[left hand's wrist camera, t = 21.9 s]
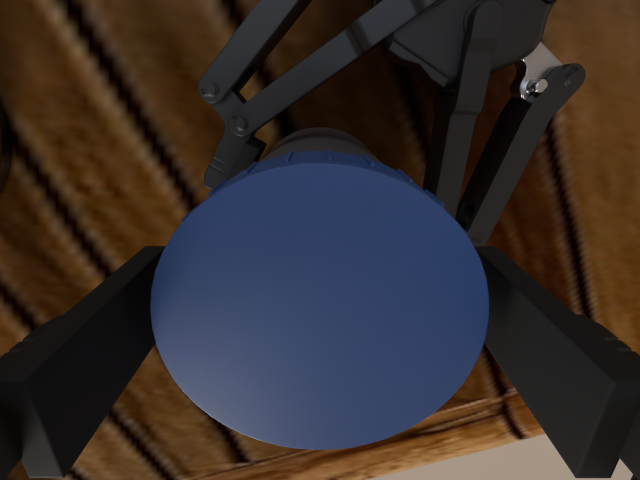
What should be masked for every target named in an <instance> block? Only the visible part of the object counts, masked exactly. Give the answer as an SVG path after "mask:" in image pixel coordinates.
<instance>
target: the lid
mask: <svg viewBox="0 0 640 480" xmlns="http://www.w3.org/2000/svg"><path fill="white" fill-rule="evenodd" d="M208 194H209V195H210V197H208V198H207V199H206V200H205V201H204V202H203V203H200V204H199V205H198V206H196V207H195V208H194V209H193V210H192V211H191V212H190V213H188V214H187V215H186V216H185V217H184V218H183V219H182V220H181V221H182V224H181V225H180V226H179V227H178V228H177V230H176V231H175V232H174V234H173V235H172V237H171V239H170V240H169V242H168V244H167V245H166V247H165V249H164V250H163V253H162V255H161V258H160V260H159V263H158V265H157V268H156V271H155V275H154V280H153V284H152V289H151V304H150V311H151V322H152V329H153V333H154V337H155V341H156V345H157V348H158V350H159V352H160V355H161V357H162V360H163V362H164V364H165V365H166V367H167V369H168V371H169V372H170V374H171V376H172V377H173V379H174V380H175V381H176V383H177V384H178V385H179V386H180V388H181V389H182V390H183V392H184V393H185V394H186V395H187V396H188V397H189V398H190V399H191V400H192V401H193V402H194V403H195V404H196V405H197V406H199V407H200V408H201V409H202V410H204V411H205V412H206V413H207V414H209V415H210V416H211V417H213V418H214V419H216V420H218V421H219V422H221V423H222V424H224V425H226V426H227V427H229V428H231V429H233V430H236V431H238V432H240V433H242V434H244V435H247V436H249V437H252V438H255V439H257V440H260V441H264V442H267V443H271V444H275V445H279V446H285V447H291V448H298V449H313V450H323V449H340V448H349V447H355V446H360V445H365V444H369V443H373V442H376V441H379V440H382V439H385V438H388V437H391V436H393V435H395V434H398V433H400V432H402V431H405V430H407V429H408V428H410V427H412V426H414V425H416V424H417V423H419V422H421V421H422V420H424V419H425V418H427V417H428V416H430V415H431V414H432V413H434V412H435V411H437V410H438V409H439V408H440V407H441V406H442V405H443V404H444V403H446V402H447V401H448V400H449V399H450V398H451V397H452V396H453V394H454V393H455V392H456V391H457V390H458V389H459V388H460V387H461V385H462V384H463V383H464V381H465V380H466V378H467V377H468V375H469V374H470V372H471V371H472V369H473V367H474V365H475V363H476V361H477V359H478V357H479V355H480V352H481V349H482V346H483V343H484V340H485V337H486V333H487V327H488V321H489V293H488V286H487V279H486V276H485V272H484V269H483V266H482V263H481V260H480V258H479V256H478V254H477V252H476V250H475V248H474V246H473V244H472V242H471V240H470V239H469V237H468V236H467V235H468V234H467V232H466V231H465V230H464V229H463V228H462V227H461V226H460V225H459V223H458V222H457V221H456V220H455V219H454V218H453V217H452V216H451V215H450V214H449V213H448V212H447V211H446V210H445V209H444V208H443V207H444V206H445V205H444V204H443V203H442V202H441V201H440V200H439V199H438V198H436V197H435V196H434V195H433V194H432V193H430V192H429V191H428V190H427V189H426V190H425V191H424V190H423V189H422V188H420V187H419V186H418V185H417V184H415V183H414V182H413V180H412V179H411V178H410V177H408V176H407V175H406V174H405V173H404V172H403V171H401V170H400V169H397V171H396V170H394V169H392V168H390V167H389V166H387V165H384V164H382V163H379V162H376V161H374V160H371V159H370V158H369V157H368V156H367V155H365V154H364V156H363V157H361V156H357V155H353V154H349V153H341V152H331V149H328V148H327V151H307V152H298V153H293V151H289V152H288V154H287V155H282V156H278V157H275V158H272V159H269V160H266V161H262V162H260V163H257V161H256V162H254V163H252V164H251V165H250V166H249V167H248V168H247V169H245V170H243V171H242V172H240V173H239V174H237V175H236V176H234V177H233V178H231V179H230V180H228V181H227V180H226V179H225V180H223V181H222V182H221V183H220V184H219V185H217V186H216V187H215V188H214V189H213V190H211V191H210V192H209V193H208Z"/></svg>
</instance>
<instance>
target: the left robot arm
mask: <svg viewBox="0 0 640 480" xmlns="http://www.w3.org/2000/svg"><path fill="white" fill-rule="evenodd" d="M9 165H10V142H9V135H8V130H7V125H6V121H5V118H4V115H3V112H2V109H1V106H0V192H1V191H2V188H3V186H4V184H5V181H6V178H7V175H8V170H9ZM165 247H166V246H145V247H144V248H143V249H141V250H140V251H139V252H138V253H137V254H136V255H134V256H133V257H132V258H131V259H130V260H128V261H127V262H126V263H125V264H124V265H122V266H121V267H120V268H119V269H118V270H116V271H115V272H114V273H113V274H112V275H110V276H109V277H108V278H107V279H106V280H105V281H103V282H102V283H101V284H100V285H99V286H97V287H96V288H95V289H94V290H93V291H91V292H90V293H89V294H88V295H87V296H85V297H84V298H83V299H82V300H81V301H80V302H78V303H77V304H76V305H75V306H74V307H72V308H71V309H70V310H69V311H68V312H66V313H65V314H64V315H63V316H58V317H56V318H54V319H52V320H50V321H48V322H46V323H44V324H42V325H40V326H39V327H37V328H36V329H35V330H34V331H32V332H31V333H30V334H29V335H27V336H26V337H25V338H24V339H23V341H22V342H19V343H17V344H16V345H15V346H14V347H12V348H11V349H10V350H9V353H5V354H4V355H3V356H1V357H0V480H9V478H8V476H7V475H8V474H9V473H10V472H11V471H12V469H13V468H14V467H15V466H16V465H17V463H18V462H19V461H20V460H21V461H22V463H23V465H24V467H25V469H26V472H27V474H28V476H29V478H64V477H65V476H66V474H67V473H68V472H69V470H70V469H71V467H72V466H73V464H74V463H75V461H76V460H77V458H78V457H79V455H80V454H81V452H82V451H83V449H84V448H85V446H86V445H87V443H88V442H89V440H90V439H91V438H92V436H93V435H94V433H95V432H96V430H97V429H98V427H99V426H100V424H101V423H102V421H103V420H104V418H105V417H106V415H107V414H108V412H109V411H110V409H111V408H112V406H113V405H114V403H115V402H116V401H117V399H118V398H119V396H120V395H121V393H122V392H123V390H124V389H125V387H126V386H127V384H128V383H129V381H130V380H131V378H132V377H133V375H134V374H135V372H136V371H137V369H138V368H139V367H140V365H141V364H142V362H143V361H144V359H145V358H146V356H147V355H148V353H149V352H150V350H151V349H152V347H153V346H154V344H155V343H156V341H155V337H154V333H153V329H152V322H151V311H150V304H151V289H152V284H153V280H154V275H155V271H156V268H157V265H158V263H159V260H160V258H161V255H162V253H163V250H164V249H165ZM474 248H475V250H476V252H477V254H478V256H479V258H480V260H481V263H482V266H483V269H484V272H485V276H486V279H487V286H488V293H489V321H488V327H487V333H486V337H485V340H484V343H485V344H486V346H487V347H488V349H489V350H490V352H491V353H492V355H493V356H494V358H495V359H496V361H497V362H498V364H499V365H500V367H501V368H502V369H503V371H504V372H505V374H506V375H507V377H508V378H509V380H510V381H511V383H512V384H513V386H514V387H515V389H516V390H517V392H518V393H519V395H520V396H521V398H522V399H523V401H524V402H525V403H526V405H527V406H528V408H529V409H530V411H531V412H532V414H533V415H534V417H535V418H536V420H537V421H538V423H539V424H540V426H541V427H542V429H543V430H544V432H545V433H546V435H547V436H548V437H549V439H550V440H551V442H552V443H553V445H554V446H555V448H556V449H557V451H558V452H559V454H560V455H561V457H562V458H563V460H564V461H565V463H566V464H567V466H568V467H569V469H570V470H571V472H572V473H573V474H574V476H575V477H576V478H611V476H612V474H613V472H614V469H615V467H616V465H617V463H618V460H619V458H620V459H621V460H622V461H623V463H624V464H625V465H626V466H627V467H628V468H629V470H630V471H631V472H632V473H633V476H632V478H631V480H640V355H639V354H637V353H636V352H632V351H631V348H630V347H629V346H627V345H626V344H625V343H624V342H622V341H619V340H618V338H617V337H616V336H615V335H614V334H612V333H611V332H610V331H609V330H607V329H606V328H605V327H604V326H602V325H600V324H599V323H597V322H595V321H593V320H591V319H589V318H587V317H585V316H583V315H576V314H575V313H574V312H572V311H571V310H570V309H569V308H568V307H566V306H565V305H564V304H563V303H562V302H560V301H559V300H558V299H557V298H556V297H555V296H553V295H552V294H551V293H550V292H549V291H547V290H546V289H545V288H544V287H543V286H541V285H540V284H539V283H538V282H537V281H535V280H534V279H533V278H532V277H531V276H530V275H528V274H527V273H526V272H525V271H524V270H522V269H521V268H520V267H519V266H518V265H516V264H515V263H514V262H513V261H512V260H510V259H509V258H508V257H507V256H506V255H504V254H503V253H502V252H501V251H500V250H499V249H497V248H496V247H495V246H474Z"/></svg>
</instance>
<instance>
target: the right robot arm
mask: <svg viewBox="0 0 640 480" xmlns="http://www.w3.org/2000/svg"><path fill="white" fill-rule="evenodd" d="M311 1H312V0H259V1H258V3H257V4H256V5H255V7H254V8H253V9H252V11H251V12H250V13H249V15H248V16H247V17H246V19H245V20H244V21H243V23H242V24H241V25H240V27H239V28H238V29H237V31H236V32H235V33H234V35H233V36H232V37H231V39H230V40H229V41H228V43H227V44H226V45H225V47H224V48H223V49H222V51H221V52H220V54H219V55H218V56H217V58H216V59H215V60H214V62H213V63H212V64H211V66H210V67H209V68H208V70H207V71H206V72H205V74H204V75H203V76H202V78H201V79H200V81H199V83H198V91H199V94H200V96H201V97H202V99H203V100H205V101H206V102H208V103H210V104H211V105H212V106H213V108H214V109H215V110H216V111H217V112H218V113H219V114H220V116H221V117H222V119H223V121H224V126H225V128H224V133H223V136H222V138H221V140H220V142H219V144H218V147H217V149H216V151H215V153H214V155H213V158H212V160H211V162H210V164H209V166H208V168H207V171H206V173H205V175H204V186H206V187H208V188H210V189H211V190H213V189H214V188H215V187H216V186H217V185H219V184H220V183H221V182H222V181H223V180H225V179H226V180H227V181H228V180H230V179H231V178H233V177H234V176H236V175H237V174H239V173H240V172H242V171H243V170H245V169H247V168H248V167H249V166H250V165H251V164H252V163H254V162H256V161H257V162H258V160H259V158H260V156H261V154H262V153H263V151H264V149H265V147H266V145H267V144H266V143H264V142H263V141H261V140H259V139H258V138H256V137H254V136H255V134H256V132H257V130H259V129H260V128H261V127H262V126H264V125H265V124H267V123H268V122H269V121H271V120H272V119H274V118H275V117H277V116H278V115H279V114H281V113H282V112H284V111H285V110H286V109H288V108H289V107H291V106H292V105H294V104H295V103H296V102H298V101H299V100H301V99H302V98H304V97H305V96H306V95H308V94H309V93H311V92H312V91H313V90H315V89H316V88H318V87H319V86H321V85H322V84H323V83H325V82H326V81H328V80H329V79H330V78H332V77H333V76H335V75H336V74H338V73H339V72H340V71H342V70H343V69H345V68H346V67H347V66H349V65H350V64H352V63H353V62H355V61H356V60H358V59H359V58H361V57H362V56H364V55H365V54H366V53H368V52H369V51H371V50H372V49H373V48H375V47H376V46H379V48H380V50H381V51H382V54H381V55H382V56H384V57H385V58H387V59H388V60H390V61H391V62H393V63H395V64H398V65H401V66H405V67H408V68H409V69H410V70H411V71H412V72H413V73H414V75H415V76H416V77H417V78H418V80H419V81H421V82H422V83H424V84H425V85H427V86H428V87H430V88H431V89H433V88H436V92H435V98H434V112H435V116H434V122H433V128H432V134H431V140H430V146H429V153H428V159H427V165H426V171H425V177H424V183H423V190H424V191H425V190H426V189H427V190H428V191H429V192H430V193H432V194H433V195H434V196H435V197H436V198H438V199H439V200H440V201H441V202H442V203H443V204H444V205H445V206H444V207H443V208H444V209H445V210H446V211H447V212H448V213H449V214H450V215H451V216H452V217H453V218H454V219H455V220H456V221H457V222H458V223H459V225H460V226H461V227H462V228H463V229H464V230H465V231H466V232H467V234H468V235H467V236H468V237H469V239H470V240H471V242H472V244H473V246H485V244H486V242H487V240H488V239H489V237H490V235H491V233H492V231H493V229H494V227H495V225H496V223H497V221H498V219H499V217H500V215H501V213H502V211H503V210H504V208H505V206H506V204H507V202H508V200H509V198H510V196H511V194H512V192H513V190H514V188H515V186H516V184H517V182H518V180H519V179H520V177H521V175H522V173H523V171H524V169H525V167H526V165H527V163H528V161H529V159H530V157H531V155H532V153H533V151H534V149H535V148H536V146H537V144H538V142H539V140H540V138H541V136H542V134H543V132H544V130H545V128H546V126H547V124H548V122H549V120H550V119H551V117H552V116H553V115H554V114H555V113H556V112H557V111H558V110H559V109H560V108H561V107H562V106H563V104H564V103H565V102H566V101H567V100H568V99H569V98H570V97H571V96H572V95H573V94H574V93H575V92H576V91H577V90H578V88H579V87H580V86H581V85H582V83H583V82H584V78H585V70H584V68H583V66H581V65H580V64H574V63H573V64H566V65H563V64H562V63H561V62H560V61H559V60H558V59H557V58H556V57H555V56H554V55H553V54H552V53H551V52H550V51H549V50H548V49H547V48H546V47H545V46H544V45H543V44H542V43H541V42H540V41H541V39H542V36H543V33H544V28H545V24H546V20H547V17H548V14H549V12H550V10H551V8H552V6H553V5H554V3H555V2H556V0H373V8H372V9H371V10H369V11H368V12H366V13H365V14H364V15H362V16H361V17H360V18H358V19H357V20H356V21H354V22H353V23H352V24H351V25H350V26H349V27H348V28H347V29H345V30H344V31H343V32H341V33H340V34H339V35H337V36H336V37H335V38H333V39H332V40H330V41H329V42H328V43H326V44H325V45H324V46H322V47H321V48H319V49H318V50H317V51H315V52H314V53H313V54H311V55H310V56H309V57H307V58H306V59H304V60H303V61H302V62H300V63H299V64H298V65H296V66H295V67H293V68H292V69H291V70H289V71H288V72H287V73H285V74H284V75H283V76H281V77H280V78H278V79H277V80H276V81H274V82H273V83H272V84H270V85H269V86H268V87H266V88H265V89H263V90H262V91H261V92H259V93H258V94H257V95H255V96H254V97H252V98H251V99H250V100H248V101H246V100H245V98H244V97H243V96H242V95H241V94H240V93H239V92H240V90H241V89H242V88H243V87H244V85H245V84H246V83H247V82H248V80H249V79H250V78H251V77H252V75H253V74H254V73H255V72H256V70H257V69H258V68H259V66H260V65H261V64H262V63H263V61H264V60H265V59H266V58H267V56H268V55H269V54H270V53H271V51H272V50H273V49H274V48H275V46H276V45H277V44H278V43H279V41H280V40H281V39H282V37H283V36H284V35H285V34H286V32H287V31H288V30H289V29H290V27H291V26H292V25H293V24H294V22H295V21H296V20H297V19H298V17H299V16H300V15H301V13H302V12H303V11H304V10H305V8H306V7H307V6H308V5H309V3H310V2H311ZM513 63H514V64H515V66H516V77H515V79H514V80H513V82H512V84H511V85H510V92H511V95H512V97H511V99H510V100H509V101H508V103H507V104H506V106H505V107H504V109H503V110H502V112H501V114H500V116H499V118H498V120H497V122H496V125H495V127H494V129H493V131H492V133H491V135H490V137H489V140H488V142H487V144H486V146H485V148H484V150H483V153H482V155H481V157H480V159H479V161H478V163H477V165H476V168H475V170H474V172H473V174H472V176H471V178H470V181H469V183H468V185H467V187H466V189H465V191H464V193H463V196H462V198H461V200H460V202H459V197H460V192H461V188H462V183H463V178H464V173H465V168H466V163H467V158H468V154H469V149H470V144H471V139H472V134H473V129H474V125H475V120H476V117H477V115H478V114H479V113H480V112H481V110H482V107H483V104H484V99H485V94H486V90H487V85H488V80H489V75H490V74H491V73H493V72H496V71H498V70H500V69H502V68H504V67H507V66H509V65H511V64H513ZM458 202H459V204H458Z"/></svg>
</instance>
